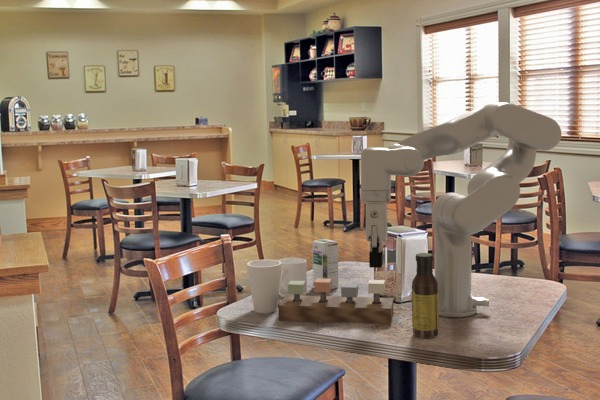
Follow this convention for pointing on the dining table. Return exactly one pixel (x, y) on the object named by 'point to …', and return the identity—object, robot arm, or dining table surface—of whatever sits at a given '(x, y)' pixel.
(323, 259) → the syrup box
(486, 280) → the dining table surface
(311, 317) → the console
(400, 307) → the dining table surface
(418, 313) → the sauce bottle
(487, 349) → the dining table surface
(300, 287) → the sage key
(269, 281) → the foam cup
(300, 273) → the mug
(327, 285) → the terracotta key
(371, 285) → the cream rectangular block
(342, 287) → the slate-grey key
